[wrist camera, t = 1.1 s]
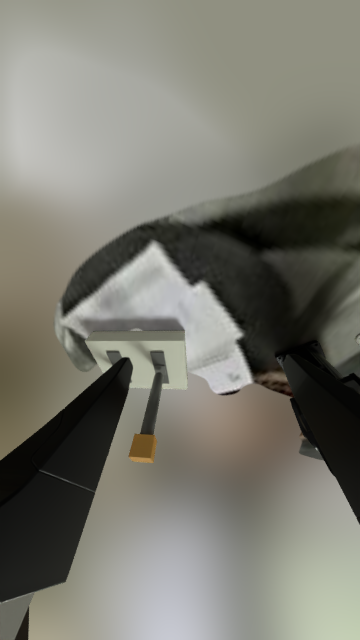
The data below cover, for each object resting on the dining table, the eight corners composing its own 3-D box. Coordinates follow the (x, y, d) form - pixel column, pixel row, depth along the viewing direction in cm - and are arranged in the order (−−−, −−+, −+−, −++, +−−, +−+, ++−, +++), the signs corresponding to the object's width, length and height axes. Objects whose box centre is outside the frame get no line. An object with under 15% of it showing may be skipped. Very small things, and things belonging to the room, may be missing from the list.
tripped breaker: (165, 369, 24) (150, 458, 15) (167, 376, 25) (153, 462, 16) (152, 369, 24) (128, 456, 15) (153, 376, 25) (132, 461, 16)
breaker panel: (184, 330, 24) (178, 433, 12) (187, 378, 31) (185, 471, 19) (93, 331, 25) (10, 423, 14) (116, 376, 32) (74, 462, 21)
